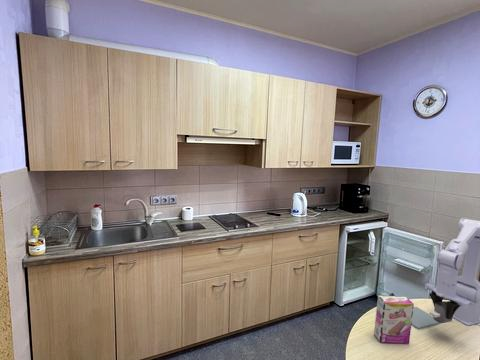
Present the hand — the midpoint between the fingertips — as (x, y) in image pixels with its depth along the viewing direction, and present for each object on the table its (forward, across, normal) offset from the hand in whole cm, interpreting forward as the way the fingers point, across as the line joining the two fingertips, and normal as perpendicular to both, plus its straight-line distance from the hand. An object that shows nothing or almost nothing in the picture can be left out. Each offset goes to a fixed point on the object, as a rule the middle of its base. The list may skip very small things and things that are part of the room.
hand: (443, 315), depth 98 cm
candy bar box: (+9, -4, -21) cm, 23 cm away
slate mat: (+9, -11, +2) cm, 14 cm away
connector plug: (+2, 0, -1) cm, 2 cm away
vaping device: (+9, -14, -12) cm, 21 cm away
